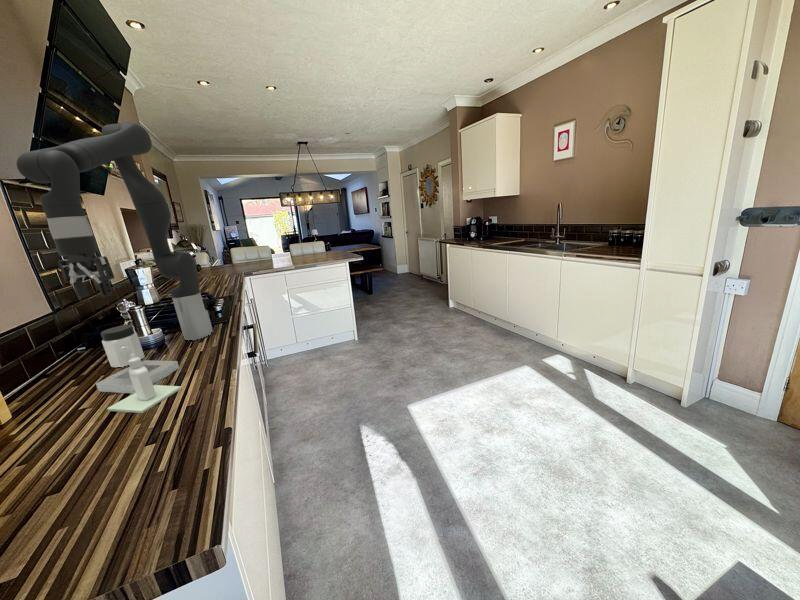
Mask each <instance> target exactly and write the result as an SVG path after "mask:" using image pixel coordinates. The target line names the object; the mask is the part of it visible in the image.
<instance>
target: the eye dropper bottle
mask: <svg viewBox="0 0 800 600" xmlns="http://www.w3.org/2000/svg"><path fill="white" fill-rule="evenodd" d="M128 363H129V366H128V367H130V368H131V369H130V370H129V376H130V378H131V381H132V384H133V387H134V390H135V392H136V395H137V398H138V399H139V400H144V401H145V400H149V399H151V398H153V397H155V396H156V392H155V389H154V387H153V385H154V384H152V381H151V378H150V375H149V372H148V369H147V368H146V367H145V366H143V365H142V360H141V359H140V357H136V356H135V355H134V354H131V359H130V360H129V361H128Z"/></svg>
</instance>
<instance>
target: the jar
mask: <svg viewBox="0 0 800 600" xmlns="http://www.w3.org/2000/svg"><path fill="white" fill-rule="evenodd" d="M100 336H101V338H102V340H101V343H102V346H103V349H104V352H105V353H106V354H105V355H106V357H107V359H108V362H109V364H110V368H117V367H122V368H125V367H124V366H126V367H128V366H127V365H129V363H128V361H129V360H130V359H131V354H134V355H135V356H136V357H140V359H142V360H143V359H144V358H145V357H146V356H145V354H144V353H145V352H144V351H143V350H144V349H143V348H142V345H141V341H140V339H139V338H140V337H139V335H138V332H136V331H135V328H134V326H133V325H132V324H123V325H117V326H115V327H110V328H108V329H105V330H103V331H101V332H100Z"/></svg>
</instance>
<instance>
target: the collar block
mask: <svg viewBox="0 0 800 600" xmlns="http://www.w3.org/2000/svg"><path fill="white" fill-rule="evenodd" d="M141 362H142V365H143V366H145V367H146V368H147V369H148V372H149V375H150V378H151V381H152V384H153V385H155V384H156V383H158V382H159V381H162V380H163V379H165V378H166V377H168V376H170V375H172V374H173V373H174V372H175V371H177V369H178V370H179V369H180V366H179V363H178V361H177V360H148V359H147V360H145V359H144V360H141ZM130 369H131V368H130V366H127V367H126V368H124V369H121V370H120V371H117V372H115V373H113V374H111V375H109V376H107V377H105V378H104V379H102V380H100V381H98V382H96V383H95V385H96V389H97V390H98V392H104V393H117V394H118V393H119V394H122V393H123V394H134V393H136V392H135V390H134V387H133V384H132V381H131V378H130V376H129V370H130Z"/></svg>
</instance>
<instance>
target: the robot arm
mask: <svg viewBox="0 0 800 600" xmlns="http://www.w3.org/2000/svg"><path fill="white" fill-rule="evenodd" d="M152 147H153V142H152V139H151V137H150V134H149V133H148V131H147V130H146V129H145V128H144V127H143V126H142V125H140V124H139V123H135V122H120V123H119V122H117V123H110V124H106V125H104V126H103V127H102V128H101V135H99V136H91V137H86V138H85V137H84V138H80V139H76V140H71V141H69V142H65V143H63V144H60V145H58V146H53V147H47V148H41V149H36V150H35V149H34V150H31V151H27V152H23V153H22V154H20V155H19V156H18V158H17V160H16V168H17V170H18V172H19V173H20V174H21V175H22V177H24V178H26V179H27V180H29V181H31V182H34V183H39V184H50V190H49V191H48V192H46V193H43V194H41V196H40V198H39V200H40V204H41V207H42V209H43V212H44V215H45V217H46V219H47V220H46V221H47V224H48V229H49V232H50V234H51V237H52V240H53V242H54V245H55V247H56V250H57V253H58V255H59V256H60V257H66V259H60V260H57V263H58V266H59V269H60V273H61V275H62V277H63V280H64V282H65V284H66V283H70V285H72V286H73V287H74V290H75V292H76V296H77V297H78V298H79V299H83V298H87V297H89V296H90V294H89V291H88V288H87V285H86V283H85V278H86V277H89V278H91V279H93V280H94V281H95V282H97V287H98V289H99V292H100V295H101V297H102V298H108V297H111V296H113V290H112V287H111V284H110V281H111V280H113V279H115V275H114V272H113V270H112V267H111V265H110V262H109V260H108V259H109V258H108V257H107V256H105V255H104V256H96V253H98V252H99V247H98V243H97V241H96V238H95V236H94V233H93V230H92V227H91V224H90V223H89V221H88V219H87V216H86V214H85V211H84V208H83V205H82V202H81V178H80V176H81V175H80V173H84V172H89V171H90V170H93V169H95V168H98V167H100V166H102V165H105V164H108V163H110V162H114V164H115V166H116V168H117V169H118V172H119V174H120V175H121V178H122V180H123V182H124V184H125V186H126V189H127V191H128V193H129V196H130V198H131V200H132V204H133V206H134V209H135V211H136V214H137V216H138V218H139V220H140V222H141V224H142V227H143V229H144V232H145V234H146V237H147V241H148V243H149V245H150V249H151V253H152V255H153V260H154V264H155V266H156V269H157V271H158V272H159V274H160V275H161V276H162V277H164V278H166V279H177V278H178V279H179V284H178V285H177V286H176V287H173V288H171V290H170V295H171V298H172V302H173V305H174V309H175V312H176V316H177V319H178V322H179V326H180V329H181V332H182V336H183V339H185V340H188V341H187V342H190V341H189V340H193V341H197V339H198V340H201V338H202V339H205V338H207V337H209V336H211V335H212V333H214V330H213V327H212V323H211V319H210V315H209V311H208V310H207V309H205V305H204V302H203V297H202V295H201V294H202V293H201V289H200V286H201V285H200V278H199V274H198V273H199V272H198V269H197V268H198V267H197V264H196V260H195V259H194V257H193V256H192V254H190V253H189V252H186V251H184V252H183V251H181V252H172V251H171V248H170V245H169V241H168V235H169V234H168V233H169V229H170V226H171V221H172V220H171V219H172V214H171V211H170V208H169V205H168V203H167V201H166V198H165V195H164V194H163V193H162V191H160V189H158V188H157V187H156V185H154V184H153V183H152V182H151V181H150V180H148V178H147V177H145V175H144V174H143V173H142V172H141V171H140V169H139V167H138V165H137V163H136V161H135V159H134V156H140V155H144V154H147V153H149V152H150V151H151V149H152ZM106 273H107V274H106ZM211 332H212V333H211ZM208 335H209V336H208ZM206 336H207V337H206ZM204 337H205V338H204ZM185 340H184V341H185Z"/></svg>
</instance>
